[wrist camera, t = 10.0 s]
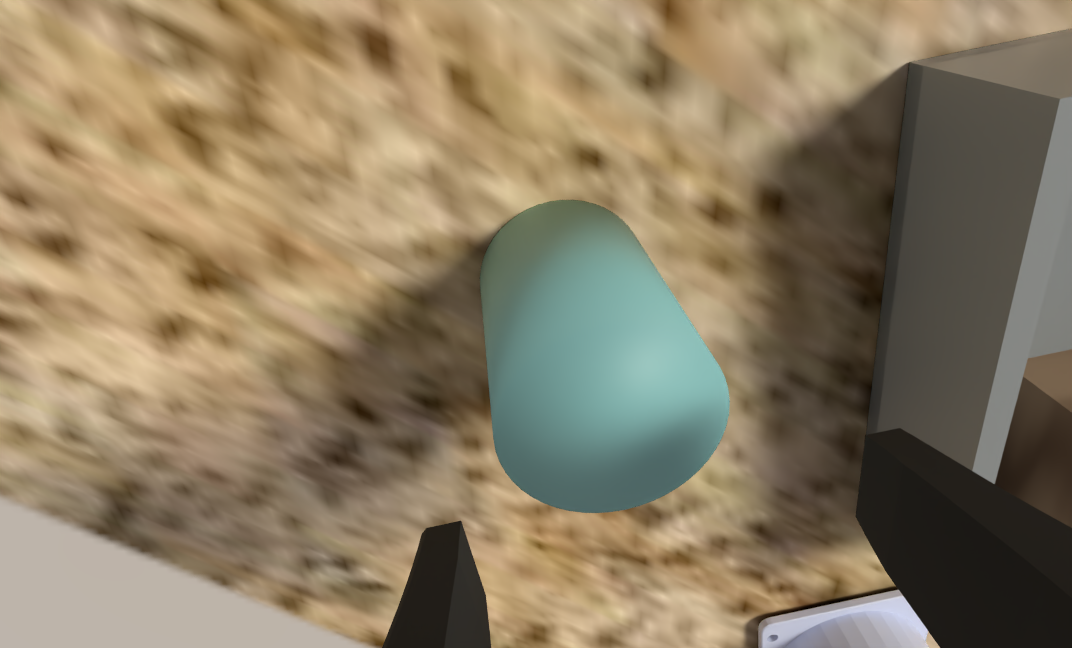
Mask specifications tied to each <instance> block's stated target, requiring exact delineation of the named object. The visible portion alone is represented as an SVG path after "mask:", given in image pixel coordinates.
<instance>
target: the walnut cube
mask: <svg viewBox="0 0 1072 648" xmlns="http://www.w3.org/2000/svg"><path fill="white" fill-rule="evenodd" d="M995 485H997V486H998V487H1000V488H1002V489H1004V490H1005V491H1007V492H1009V493H1010V494H1012V495H1014V496H1016V497H1017V498H1019V499H1021V500H1023V501H1024V502H1026V503H1028V504H1030V505H1031V506H1033V507H1035V508H1037V509H1038V510H1040V511H1042V512H1044V513H1046V514H1047V515H1049V516H1051V517H1053V518H1055V519H1057V520H1058V521H1060V522H1062V523H1064V524H1066V525H1067V526H1069V527H1071V528H1072V349H1070V350H1066V351H1061V352H1056V353H1051V354H1047V355H1042V356H1037V357H1032V358H1028V360H1027V363H1026V367H1025V371H1024V375H1023V379H1022V382H1021V386H1020V390H1019V394H1018V398H1017V401H1016V405H1015V409H1014V413H1013V417H1012V420H1011V424H1010V428H1009V432H1008V435H1007V439H1006V443H1005V447H1004V451H1003V454H1002V458H1001V462H1000V466H999V470H998V473H997V477H996V481H995Z"/></svg>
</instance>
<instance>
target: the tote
mask: <svg viewBox="0 0 1072 648" xmlns="http://www.w3.org/2000/svg"><path fill="white" fill-rule="evenodd" d="M1070 349H1072V29H1068V30H1063V31H1058V32H1053V33H1048V34H1044V35H1039V36H1034V37H1029V38H1024V39H1019V40H1015V41H1010V42H1005V43H1000V44H995V45H990V46H986V47H981V48H976V49H971V50H966V51H961V52H957V53H952V54H947V55H942V56H937V57H932V58H928V59H923V60H918V61H913V62H910V63H909V72H908V80H907V89H906V97H905V106H904V115H903V123H902V132H901V140H900V149H899V157H898V166H897V175H896V183H895V192H894V200H893V209H892V218H891V226H890V235H889V243H888V252H887V260H886V269H885V278H884V286H883V295H882V303H881V312H880V320H879V329H878V338H877V346H876V355H875V363H874V372H873V380H872V389H871V398H870V406H869V415H868V423H867V432H866V435H868V434H873V433H878V432H883V431H887V430H892V429H897V428H901V429H903V430H904V431H906V432H908V433H909V434H911V435H913V436H915V437H916V438H918V439H920V440H921V441H923V442H925V443H926V444H928V445H930V446H932V447H933V448H935V449H936V450H938V451H940V452H941V453H943V454H945V455H946V456H948V457H950V458H951V459H953V460H955V461H956V462H958V463H960V464H961V465H963V466H965V467H966V468H968V469H970V470H971V471H973V472H975V473H976V474H978V475H980V476H981V477H983V478H985V479H986V480H988V481H990V482H992V483H993V484H995V481H996V477H997V473H998V470H999V466H1000V462H1001V458H1002V454H1003V451H1004V447H1005V443H1006V439H1007V435H1008V432H1009V428H1010V424H1011V420H1012V417H1013V413H1014V409H1015V405H1016V401H1017V398H1018V394H1019V390H1020V386H1021V382H1022V379H1023V375H1024V371H1025V367H1026V363H1027V360H1028V358H1032V357H1037V356H1042V355H1047V354H1051V353H1056V352H1061V351H1066V350H1070Z"/></svg>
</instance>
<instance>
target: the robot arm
mask: <svg viewBox="0 0 1072 648" xmlns="http://www.w3.org/2000/svg"><path fill="white" fill-rule="evenodd" d="M856 518H857V520H858V522H859V524H860V526H861V527H862V529H863V531H864V533H865V535H866V537H867V539H868V541H869V542H870V544H871V546H872V548H873V550H874V551H875V553H876V555H877V557H878V558H879V560H880V562H881V564H882V566H883V567H884V569H885V571H886V572H887V574H888V575H889V577H890V578H891V579H892V581H893V582H894V584H895V585H896V587H897V588H898V590H894V591H889V592H884V593H880V594H875V595H870V596H866V597H861V598H857V599H852V600H847V601H843V602H838V603H833V604H829V605H824V606H820V607H815V608H810V609H806V610H801V611H796V612H792V613H787V614H782V615H778V616H773V617H769V618H766V619H764V620H762V621H761V622H760V624H759V627H758V648H929V646H928V645H927V643H926V637H927V633H928V631H929V633H930V634H931V635H932V637H933V638H934V640H935V641H936V642H937V644H938V645H939V647H940V648H1072V528H1071V527H1069V526H1067V525H1066V524H1064V523H1062V522H1060V521H1058V520H1057V519H1055V518H1053V517H1051V516H1049V515H1047V514H1046V513H1044V512H1042V511H1040V510H1038V509H1037V508H1035V507H1033V506H1031V505H1030V504H1028V503H1026V502H1024V501H1023V500H1021V499H1019V498H1017V497H1016V496H1014V495H1012V494H1010V493H1009V492H1007V491H1005V490H1004V489H1002V488H1000V487H998V486H997V485H995V484H993V483H992V482H990V481H988V480H986V479H985V478H983V477H981V476H980V475H978V474H976V473H975V472H973V471H971V470H970V469H968V468H966V467H965V466H963V465H961V464H960V463H958V462H956V461H955V460H953V459H951V458H950V457H948V456H946V455H945V454H943V453H941V452H940V451H938V450H936V449H935V448H933V447H932V446H930V445H928V444H926V443H925V442H923V441H921V440H920V439H918V438H916V437H915V436H913V435H911V434H909V433H908V432H906V431H904V430H903V429H901V428H897V429H892V430H887V431H883V432H878V433H873V434H868V435H866V436H865V444H864V452H863V461H862V469H861V477H860V485H859V494H858V502H857V510H856ZM382 648H491V641H490V631H489V621H488V612H487V603H486V595H485V592H484V589H483V586H482V583H481V580H480V577H479V574H478V571H477V568H476V565H475V562H474V559H473V556H472V553H471V550H470V547H469V544H468V541H467V538H466V534H465V531H464V528H463V525H462V522H461V521H458V522H453V523H448V524H444V525H439V526H434V527H429V528H426V530H425V531H424V532H423V533H422V535H421V539H420V543H419V546H418V550H417V553H416V556H415V560H414V563H413V566H412V569H411V572H410V575H409V578H408V581H407V584H406V587H405V590H404V592H403V595H402V598H401V601H400V604H399V606H398V609H397V611H396V614H395V617H394V619H393V622H392V624H391V627H390V629H389V632H388V634H387V637H386V639H385V642H384V645H383V647H382Z"/></svg>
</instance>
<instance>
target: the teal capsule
mask: <svg viewBox="0 0 1072 648" xmlns="http://www.w3.org/2000/svg"><path fill="white" fill-rule="evenodd" d="M480 291H481V302H482V314H483V325H484V337H485V348H486V359H487V371H488V382H489V393H490V405H491V416H492V428H493V439H494V444H495V450H496V453H497V456H498V459H499V461H500V463H501V465H502V467H503V469H504V470H505V472H506V474H507V475H508V476H509V477H510V479H511V480H512V481H513V482H514V483H515V484H516V485H517V486H518V487H519V488H520V489H521V490H523V491H524V492H526V493H527V494H528V495H530V496H531V497H533V498H535V499H537V500H539V501H541V502H543V503H545V504H548V505H550V506H553V507H556V508H560V509H564V510H568V511H575V512H583V513H602V512H613V511H619V510H625V509H629V508H633V507H637V506H640V505H643V504H646V503H648V502H651V501H653V500H656V499H658V498H660V497H662V496H664V495H666V494H668V493H669V492H671V491H673V490H674V489H676V488H678V487H679V486H681V485H682V484H683V483H685V482H686V481H687V480H689V479H690V478H691V477H692V476H693V475H694V474H695V473H697V472H698V471H699V470H700V469H701V467H702V466H703V465H704V464H705V463H706V462H707V461H708V460H709V458H710V457H711V455H712V454H713V452H714V451H715V450H716V448H717V446H718V444H719V442H720V440H721V438H722V436H723V433H724V431H725V428H726V425H727V420H728V416H729V403H730V401H729V391H728V387H727V383H726V379H725V377H724V375H723V372H722V370H721V368H720V366H719V365H718V363H717V362H716V360H715V359H714V357H713V355H712V354H711V352H710V351H709V349H708V348H707V346H706V345H705V343H704V342H703V340H702V338H701V337H700V335H699V334H698V332H697V331H696V329H695V328H694V326H693V325H692V323H691V321H690V320H689V318H688V317H687V315H686V314H685V312H684V311H683V309H682V307H681V306H680V304H679V303H678V301H677V300H676V298H675V297H674V295H673V294H672V292H671V290H670V289H669V287H668V286H667V284H666V283H665V281H664V280H663V278H662V277H661V275H660V273H659V272H658V270H657V269H656V267H655V266H654V264H653V263H652V261H651V260H650V258H649V256H648V255H647V253H646V252H645V250H644V249H643V247H642V246H641V244H640V242H639V241H638V239H637V238H636V236H635V235H634V233H633V232H632V231H631V229H630V228H629V226H628V225H627V224H626V223H625V222H624V221H623V220H622V219H621V218H619V217H618V216H617V215H615V214H614V213H613V212H611V211H609V210H607V209H606V208H604V207H601V206H599V205H596V204H593V203H589V202H585V201H578V200H558V201H551V202H547V203H543V204H539V205H537V206H534V207H532V208H529V209H527V210H525V211H524V212H522V213H520V214H518V215H517V216H515V217H514V218H513V219H511V220H510V221H509V222H508V223H507V224H506V225H505V226H503V227H502V228H501V229H500V231H499V232H498V233H497V234H496V236H495V237H494V238H493V240H492V241H491V243H490V245H489V246H488V248H487V251H486V253H485V255H484V258H483V262H482V266H481V272H480Z"/></svg>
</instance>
